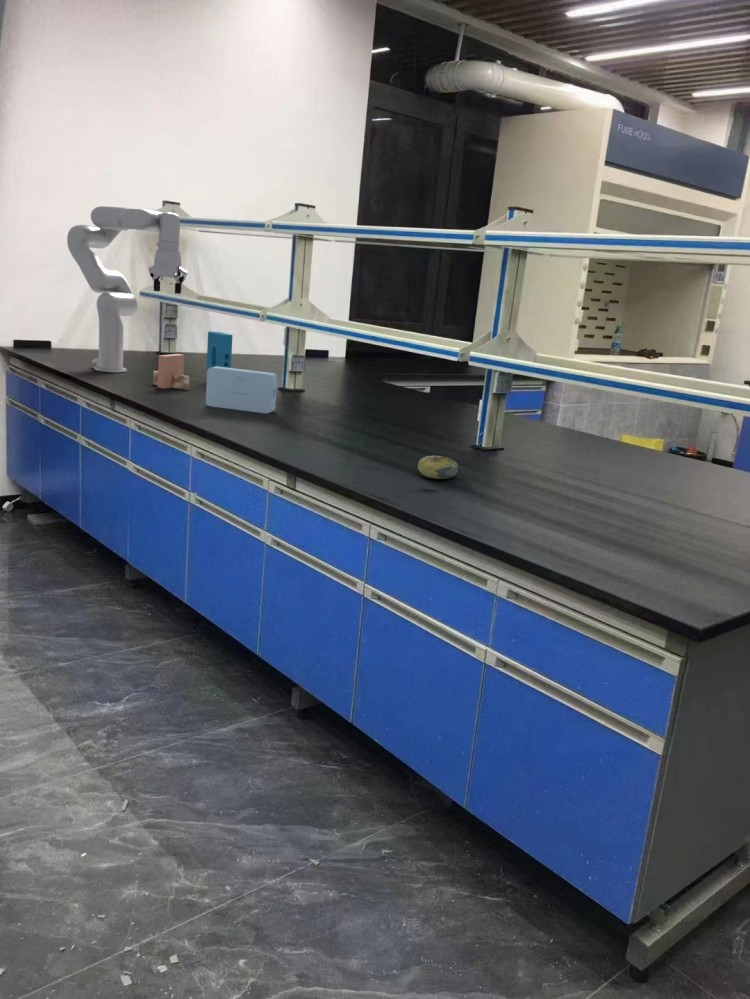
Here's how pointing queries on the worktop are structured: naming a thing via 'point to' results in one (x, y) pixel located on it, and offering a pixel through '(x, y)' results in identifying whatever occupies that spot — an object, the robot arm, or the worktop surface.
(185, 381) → the slot plate base
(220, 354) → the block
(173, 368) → the terracotta plate
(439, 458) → the cell model
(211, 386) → the pale blue box
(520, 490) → the worktop surface
